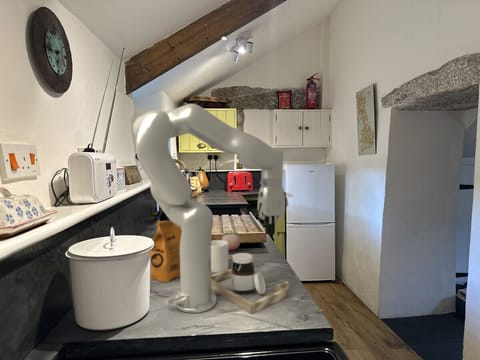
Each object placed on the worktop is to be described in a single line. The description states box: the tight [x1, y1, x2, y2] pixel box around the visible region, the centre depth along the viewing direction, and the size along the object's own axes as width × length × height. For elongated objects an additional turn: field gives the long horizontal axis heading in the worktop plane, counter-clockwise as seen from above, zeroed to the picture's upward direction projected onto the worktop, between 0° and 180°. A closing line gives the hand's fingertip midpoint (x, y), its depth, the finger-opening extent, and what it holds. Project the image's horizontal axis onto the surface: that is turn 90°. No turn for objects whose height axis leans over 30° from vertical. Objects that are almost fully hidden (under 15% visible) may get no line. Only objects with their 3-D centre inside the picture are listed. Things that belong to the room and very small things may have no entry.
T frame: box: [211, 266, 290, 315], centre depth 99 cm, size 20×25×2 cm
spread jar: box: [230, 252, 266, 295], centre depth 98 cm, size 12×11×12 cm
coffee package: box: [149, 219, 182, 283], centre depth 109 cm, size 10×12×22 cm
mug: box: [211, 239, 229, 274], centre depth 118 cm, size 9×12×11 cm
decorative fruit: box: [221, 230, 242, 252], centre depth 138 cm, size 9×8×10 cm
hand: (269, 234), depth 104 cm, fingers closed
